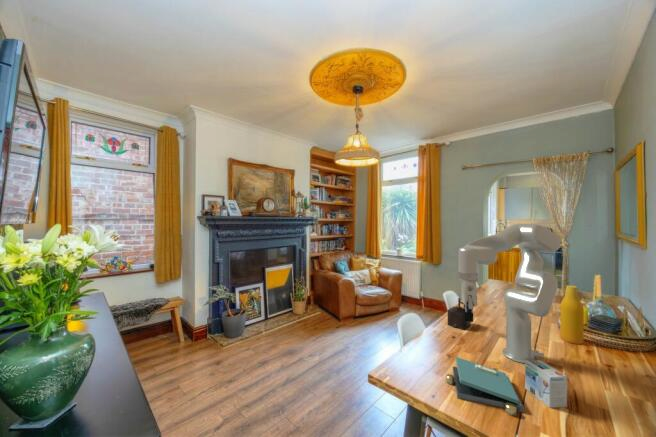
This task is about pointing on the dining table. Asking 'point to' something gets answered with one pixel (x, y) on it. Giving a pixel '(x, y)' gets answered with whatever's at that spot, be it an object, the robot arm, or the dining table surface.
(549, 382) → the light bulb box
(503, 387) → the plate
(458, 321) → the black box
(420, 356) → the dining table surface
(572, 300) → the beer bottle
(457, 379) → the base
